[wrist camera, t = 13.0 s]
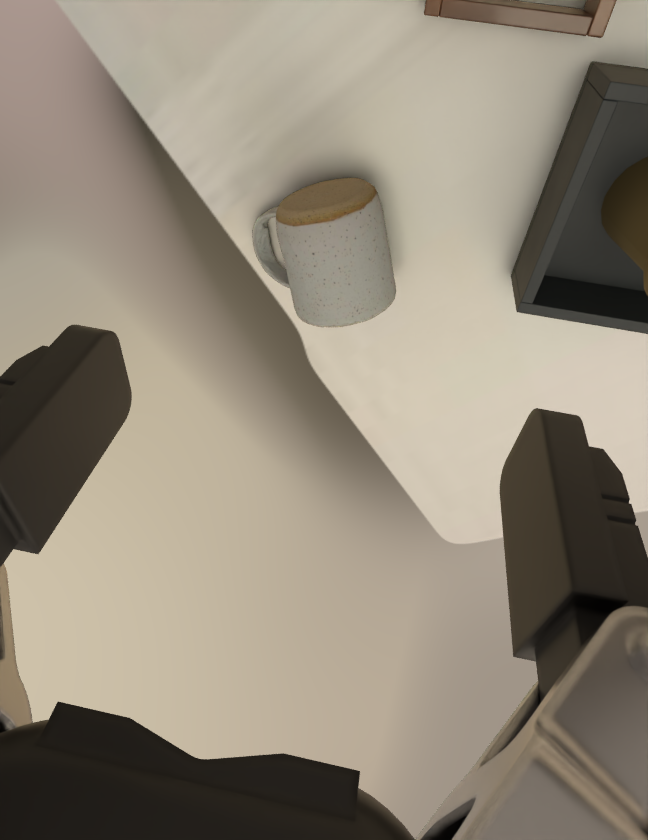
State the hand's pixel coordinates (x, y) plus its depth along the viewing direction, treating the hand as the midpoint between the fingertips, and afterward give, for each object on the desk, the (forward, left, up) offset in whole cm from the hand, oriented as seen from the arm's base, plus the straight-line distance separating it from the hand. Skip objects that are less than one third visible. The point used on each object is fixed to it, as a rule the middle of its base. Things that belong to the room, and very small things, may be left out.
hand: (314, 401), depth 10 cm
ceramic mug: (+11, -4, -30) cm, 32 cm away
